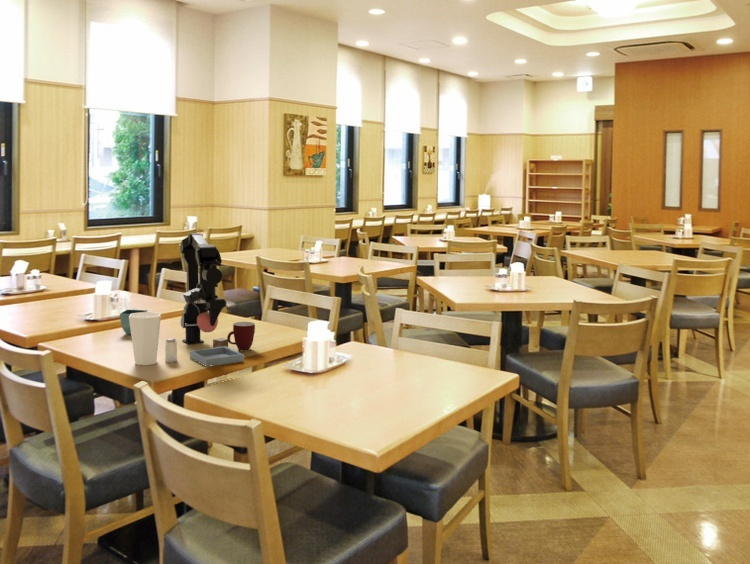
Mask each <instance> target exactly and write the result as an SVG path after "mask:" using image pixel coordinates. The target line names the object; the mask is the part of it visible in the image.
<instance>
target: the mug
mask: <svg viewBox="0 0 750 564" xmlns="http://www.w3.org/2000/svg"><path fill="white" fill-rule="evenodd" d="M255 324H256V323H254V322H252V321H237V322H234V323H233V325H232V326H233V327H232V331H230V332H228V334H227V337H226V339H227V340H228V344H230V345H236V348H237V350H239V351H240V350H244V351H243V352H245V350H247V351H250V349H251V347H252V345H253V342H254V336H255V333H256V332H255V331H256V325H255ZM232 335H233V338H234V341H231V336H232Z"/></svg>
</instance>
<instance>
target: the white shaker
mask: <svg viewBox="0 0 750 564" xmlns="http://www.w3.org/2000/svg"><path fill="white" fill-rule="evenodd" d="M164 353H165V354H164V358H165V359H164V361H165V363H175V362H174V361H176V362H177V361H178V341H177V340H176V338H172V337H170V338H166V339H165V341H164Z"/></svg>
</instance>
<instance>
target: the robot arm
mask: <svg viewBox="0 0 750 564" xmlns="http://www.w3.org/2000/svg"><path fill="white" fill-rule="evenodd" d="M179 252H180V254H181V258H182V260H183V262H185V265H186V267H185V268H186V292H184V293H183V294H182V295H183V298H184V301H185V303H186V304H185V305H184V307H183V312H182V315H181V318H180V327H181V328H182V329H185V339H182V340H181V341H182V342H183V343H186V344H187V345H190V344H191V345H193V344H200V343H204V342H205V341H204V340H203V339H201V330H200V328H199V327H198V324H197V317H198V316H199V315H200V314H201V313H204V312H209V317H210V324H211V326H214V324H215V322H216V320H217V318H218V319H219V316H220V315H221V312H222V310H223V309H224V308H226V307H227V300H225V299H224V298H222V297H219V296H218V294H216V293H217V291H216V288H218V286H219V283H221V281H222V279H223V273H222V271H221V270H220V269H219V268H218V266H219V267H221V266H222V261H223V260H222V257H221V254H220V253H221V252H220V251H219V249H218V248H217V246H215V244H209V243H208V241H206V239H205V238H204V235H203V233H200V232H198V233H197V232H195V233H194V232H192V233H188V235H187V237H185V238H183V239H182V240H181V242H180V245H179ZM206 310H207V311H206Z"/></svg>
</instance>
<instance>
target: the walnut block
mask: <svg viewBox="0 0 750 564" xmlns="http://www.w3.org/2000/svg"><path fill="white" fill-rule="evenodd" d="M223 346H226V347H228V348H229V342H228V340H227V338H225V337H218V338H213V339H212V348H216V347H223Z"/></svg>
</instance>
